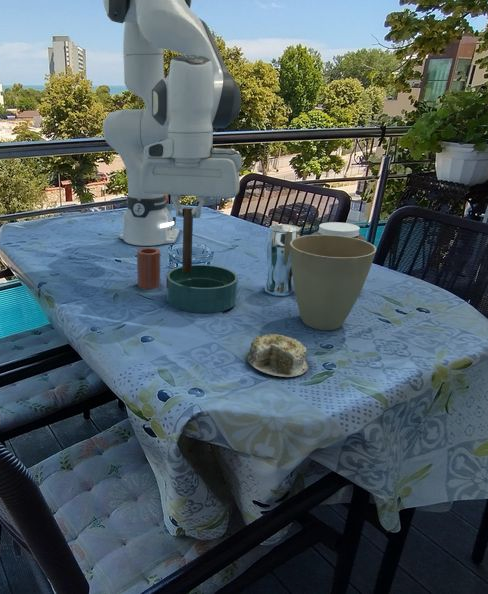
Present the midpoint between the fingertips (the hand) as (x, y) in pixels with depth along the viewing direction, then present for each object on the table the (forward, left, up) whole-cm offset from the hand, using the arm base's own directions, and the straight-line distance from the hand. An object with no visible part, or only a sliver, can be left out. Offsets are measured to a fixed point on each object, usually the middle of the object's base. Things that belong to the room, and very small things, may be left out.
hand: (188, 216), depth 97 cm
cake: (+21, +23, -19) cm, 36 cm away
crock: (-4, -10, -19) cm, 22 cm away
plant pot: (+2, +29, -19) cm, 34 cm away
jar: (-17, +30, -19) cm, 39 cm away
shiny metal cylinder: (-12, +19, -19) cm, 29 cm away
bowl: (0, +4, -19) cm, 19 cm away
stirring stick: (0, 0, -12) cm, 12 cm away
